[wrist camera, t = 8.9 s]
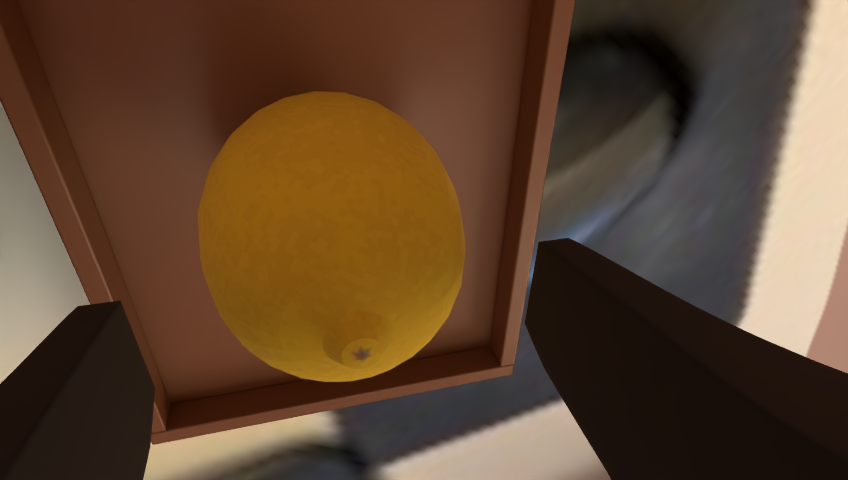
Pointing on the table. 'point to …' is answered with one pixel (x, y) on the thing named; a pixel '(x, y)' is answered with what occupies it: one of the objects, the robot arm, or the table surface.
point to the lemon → (330, 237)
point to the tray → (225, 112)
